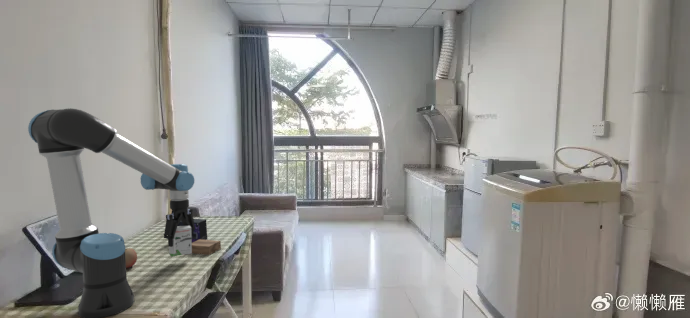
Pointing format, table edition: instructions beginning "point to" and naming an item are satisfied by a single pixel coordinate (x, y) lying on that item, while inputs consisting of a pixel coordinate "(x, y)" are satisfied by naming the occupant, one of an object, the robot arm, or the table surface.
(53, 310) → the table surface
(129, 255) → the fruit
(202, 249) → the walnut block
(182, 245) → the ink box
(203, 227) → the box
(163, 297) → the table surface
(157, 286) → the table surface
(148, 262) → the table surface
